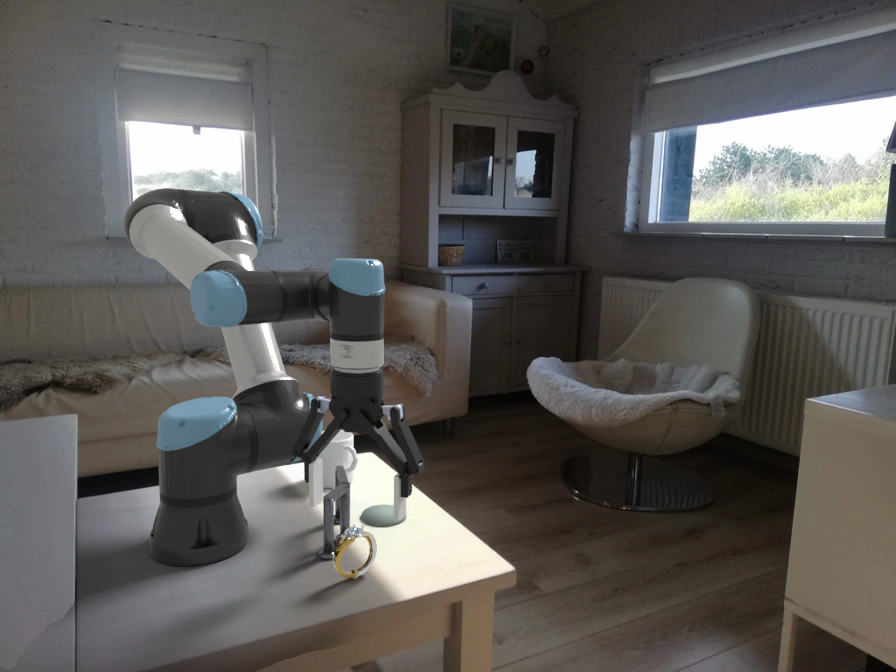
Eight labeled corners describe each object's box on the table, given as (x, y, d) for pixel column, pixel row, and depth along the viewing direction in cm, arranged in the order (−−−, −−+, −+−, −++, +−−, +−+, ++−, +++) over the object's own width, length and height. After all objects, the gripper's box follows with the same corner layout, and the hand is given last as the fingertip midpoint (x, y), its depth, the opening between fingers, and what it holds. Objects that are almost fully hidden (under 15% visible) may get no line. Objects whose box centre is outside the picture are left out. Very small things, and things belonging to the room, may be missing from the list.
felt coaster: (354, 521, 116) (354, 518, 116) (373, 504, 123) (373, 501, 123) (395, 529, 113) (395, 526, 113) (412, 511, 121) (412, 508, 121)
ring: (338, 588, 94) (338, 536, 93) (328, 578, 96) (329, 528, 95) (380, 575, 98) (381, 525, 96) (370, 566, 100) (371, 517, 99)
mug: (340, 497, 126) (340, 448, 125) (306, 480, 135) (305, 434, 133) (372, 487, 132) (373, 440, 131) (338, 471, 140) (338, 427, 139)
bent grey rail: (290, 552, 104) (290, 492, 103) (336, 515, 118) (336, 463, 117) (332, 561, 102) (332, 500, 100) (373, 522, 116) (374, 469, 114)
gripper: (266, 365, 93) (269, 507, 96) (430, 380, 85) (427, 534, 88) (295, 357, 100) (296, 489, 103) (448, 370, 92) (445, 513, 95)
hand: (357, 510), depth 95 cm, fingers open, 13 cm apart
